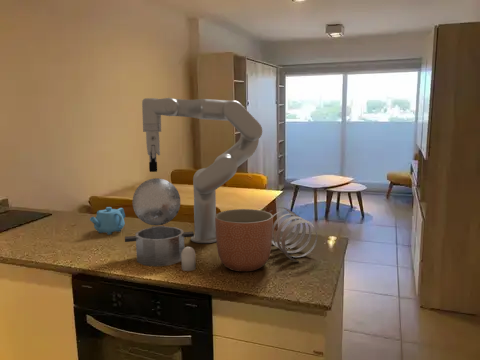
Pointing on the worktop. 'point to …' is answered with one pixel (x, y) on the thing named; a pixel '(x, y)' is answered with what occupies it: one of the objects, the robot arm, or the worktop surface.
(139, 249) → the pot
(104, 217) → the teapot
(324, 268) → the worktop surface
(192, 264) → the salt cellar
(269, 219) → the planter
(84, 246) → the worktop surface
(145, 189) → the lid
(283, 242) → the spring
